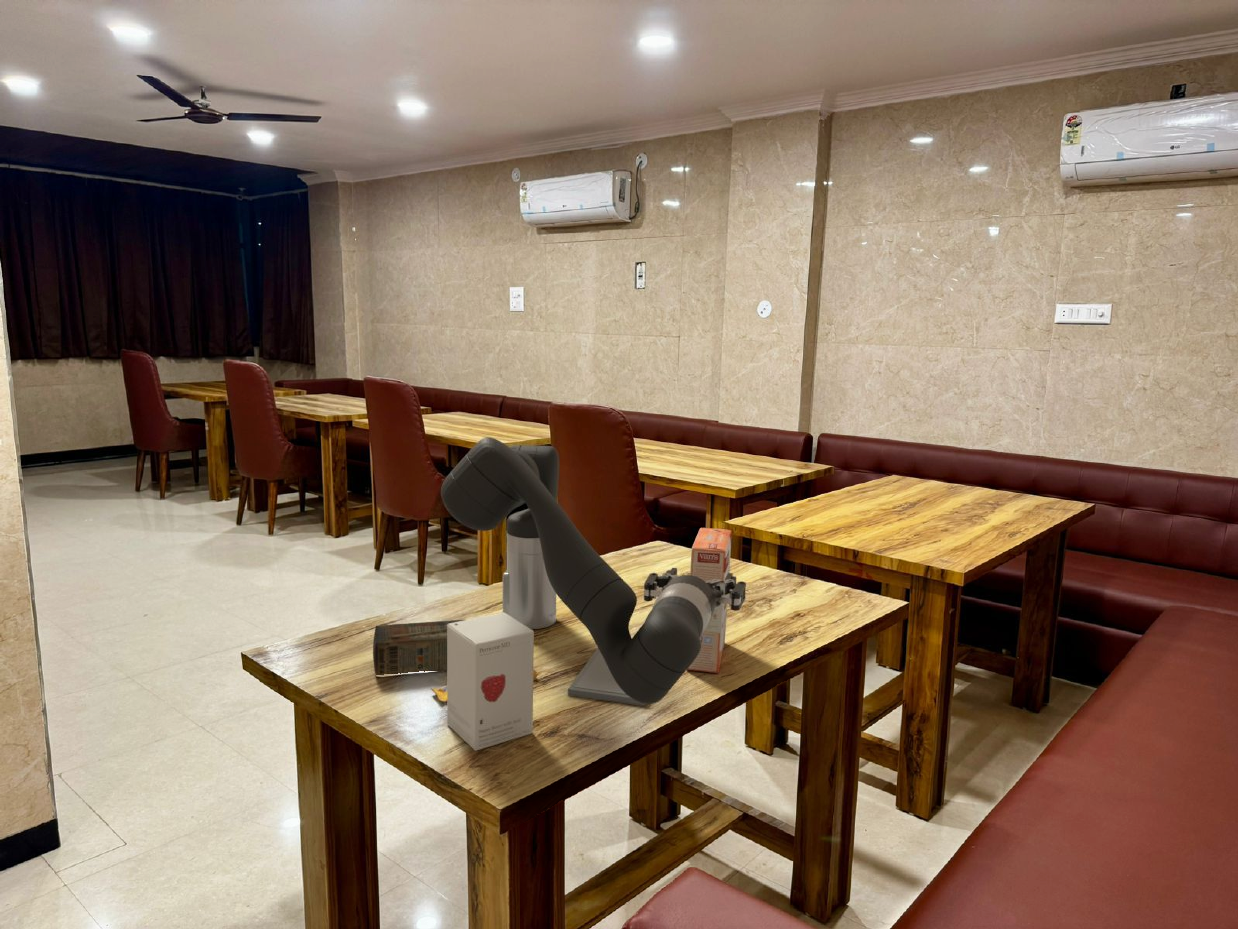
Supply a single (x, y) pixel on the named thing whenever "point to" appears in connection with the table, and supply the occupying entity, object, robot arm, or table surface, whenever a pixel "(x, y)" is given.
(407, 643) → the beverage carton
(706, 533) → the cracker box
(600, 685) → the slate board
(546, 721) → the table surface
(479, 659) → the supplement box
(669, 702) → the table surface
